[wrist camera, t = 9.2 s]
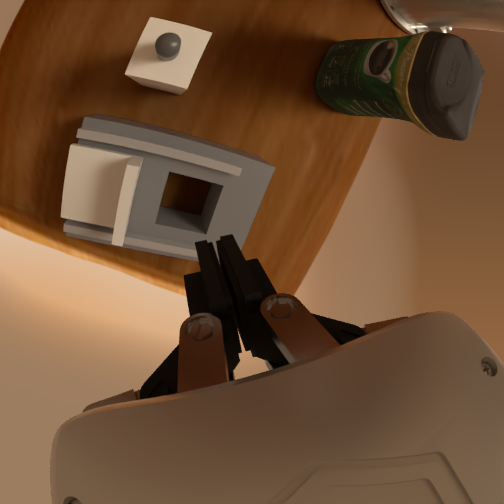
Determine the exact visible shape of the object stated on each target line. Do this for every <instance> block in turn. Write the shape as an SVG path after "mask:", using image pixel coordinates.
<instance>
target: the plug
mask: <svg viewBox="0 0 504 504" xmlns="http://www.w3.org/2000/svg"><path fill="white" fill-rule="evenodd" d="M211 35H212V33H211V32H208V31H205V30H201V29H198V28H195V27H191V26H187V25H184V24H180V23H176V22H171V21H167V20H163V19H158V18H153V17H150V19H149V21H148V23H147V25H146V27H145V29H144V31H143V33H142V35H141V37H140V39H139V41H138V44H137V46H136V48H135V50H134V53H133V55H132V57H131V60H130V62H129V65H128V67H127V70H126V72H125V75H127V76H128V77H130V78H131V79H133V80H135V81H136V82H138V83H139V84H141V85H142V86H146V87H150V88H154V89H159V90H163V91H167V92H171V93H174V94H178V95H181V94H182V93H183V92H184V91H186V90H187V89H188V86H189V84H190V81H191V79H192V76H193V74H194V72H195V69H196V67H197V65H198V63H199V60H200V58H201V56H202V54H203V52H204V49H205V47H206V45H207V43H208V41H209V39H210V37H211Z"/></svg>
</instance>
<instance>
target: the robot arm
mask: <svg viewBox="0 0 504 504" xmlns="http://www.w3.org/2000/svg"><path fill="white" fill-rule="evenodd" d="M380 1H381V3H382V5H383V7H384V9H385V10H386V12H387V14H388V15H389V16H390V18H391V19H392V20H393V21H394V22H395V23H396V24H397V25H398V27H400V28H401V29H402V30H403V31H405V32H406V33H408V34H410V35H413V34H417V33H420V32H424V31H436V32H443V33H447V31H448V32H449V31H451V30H452V28H453V27H454V28H472V29H483V30H492V31H498V32H504V0H380ZM216 245H217V251H218V257H219V260H218V257H217V254H216V251H215V249H214V246H213V243H212V242H209V243H208V242H207V240H202V241H198V242H195V247H196V251H197V256H198V260H199V265H200V269H201V271H200V272H196V273H192V274H187V275H184V282H185V289H186V295H187V301H188V307H189V313H190V317H189V318H187V319H186V320H185V321H184V322H183V324H182V325H181V328H180V337H179V345H178V346H177V347H176V348H175V349H174V350H173V351H172V353H171V354H170V355H169V356H168V357H167V358H166V359H165V360H164V361H163V363H162V364H161V365H160V366H159V367H158V368H157V369H156V371H155V372H154V373H153V374H152V375H151V376H150V377H149V378H148V379H147V381H146V382H145V383H144V384H143V386H142V387H141V389H140V390H138V391H134V390H133V389H132V390H130V391H127V392H124V393H122V394H119V395H116V396H113V397H110V398H107V399H105V400H101V401H98V402H95V403H92V404H90V405H88V406H87V407H86V408H85V409H84V410H83V412H82V413H80V414H78V415H76V416H74V417H72V418H70V419H69V420H67V421H66V422H65V423H63V424H62V425H61V426H60V427H59V429H58V430H57V432H56V434H55V437H54V439H53V444H52V451H51V460H50V484H51V496H52V504H504V364H503V362H502V361H501V360H500V358H499V357H498V356H497V355H496V353H495V352H494V351H493V350H492V349H491V347H490V346H489V345H488V344H487V343H486V342H485V341H484V340H483V338H482V337H481V336H480V335H479V334H478V333H477V332H476V331H475V330H474V329H473V328H472V327H471V326H470V325H469V324H468V323H466V322H465V321H464V320H463V319H462V318H460V317H459V316H457V315H455V314H453V313H450V312H444V311H435V312H426V313H422V314H418V315H414V316H411V317H400V318H396V319H391V320H387V321H381V322H376V323H371V324H366V325H364V327H363V328H360V327H358V326H356V325H353V324H349V323H345V322H341V321H337V320H334V319H330V318H326V317H323V316H319V315H316V314H312V313H310V312H309V311H308V309H307V308H306V307H305V306H303V304H302V303H301V302H300V301H299V300H298V299H297V298H296V297H295V296H292V295H290V294H285V293H279V294H277V292H276V291H275V289H274V287H273V285H272V284H271V282H270V280H269V278H268V276H267V275H266V273H265V271H264V269H263V268H262V266H261V264H260V262H259V261H258V259H257V258H256V259H251V260H247V261H246V260H245V258H244V256H243V254H242V252H241V250H240V248H239V246H238V244H237V242H236V240H235V238H234V236H233V234H229V235H225V236H220V240H217V241H216ZM219 262H220V263H219ZM237 328H238V329H237ZM238 331H239V334H240V337H241V339H242V342H243V345H244V348H245V350H246V351H249V350H251V353H252V356H253V357H258V358H261V359H264V360H265V363H266V365H267V367H268V369H269V371H266V372H262V373H259V374H256V375H252V376H248V377H245V378H241V379H237V380H235V376H234V372H233V370H234V369H235V367H236V366H237V365H238V363H239V362H240V359H239V354H238V353H242V350H241V345H240V340H239V335H238Z"/></svg>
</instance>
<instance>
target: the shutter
mask: <svg viewBox="0 0 504 504" xmlns="http://www.w3.org/2000/svg"><path fill="white" fill-rule="evenodd" d="M143 158H144V157H140V156H135V155H131V154H126V153H122V152H117V151H112V150H107V149H102V148H97V147H91V146H86V145H80V144H74V143H73V144H71V145H70V150H69V155H68V161H67V167H66V173H65V180H64V188H63V196H62V207H61V217H62V218H66V219H71V220H76V221H81V222H86V223H91V224H96V225H101V226H106V227H111V228H114V231H113V238H112V244H113V245H118V246H123V242H124V238H125V234H126V230H127V226H128V221H129V216H130V211H131V206H132V202H133V197H134V193H135V189H136V185H137V181H138V177H139V173H140V169H141V165H142V161H143Z"/></svg>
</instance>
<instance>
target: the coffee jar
mask: <svg viewBox="0 0 504 504" xmlns="http://www.w3.org/2000/svg"><path fill="white" fill-rule="evenodd" d="M484 74H485V71H484V69H483V67H482V65H481V63H480V61H479V59H478V57H477V55H476V54H475V53H474V51H473V49H472V48H471V46H470V45H469V44H468V42H467V41H465V40H464V39H462V38H460V37H458V36H456V35H453V34H449V33H443V32H436V31H424V32H420V33H417V34H413V35H410V36H404V37H396V38H377V39H354V40H345V41H339V42H336V43H334V44H333V45H332V46H331V47H330V48H329V50H328V51H327V53H326V55H325V57H324V58H323V61H322V63H321V65H320V68H319V70H318V73H317V77H316V81H315V88H316V91H317V94H318V96H319V97H320V98H321V100H322V101H323V102H325V103H326V104H327V105H329V106H330V107H332V108H333V109H335V110H337V111H339V112H341V113H343V114H347V115H353V116H372V117H386V118H394V119H401V120H405V121H410V122H412V123H414V124H415V125H417V126H418V127H419V128H421V129H422V130H424V131H425V132H427V133H429V134H431V135H433V136H436V137H442V138H448V139H453V140H459V141H464V140H465V139H467V137H468V135H469V133H470V131H471V128H472V125H473V122H474V118H475V115H476V111H477V108H478V103H479V99H480V96H481V90H482V82H483V75H484Z"/></svg>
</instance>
